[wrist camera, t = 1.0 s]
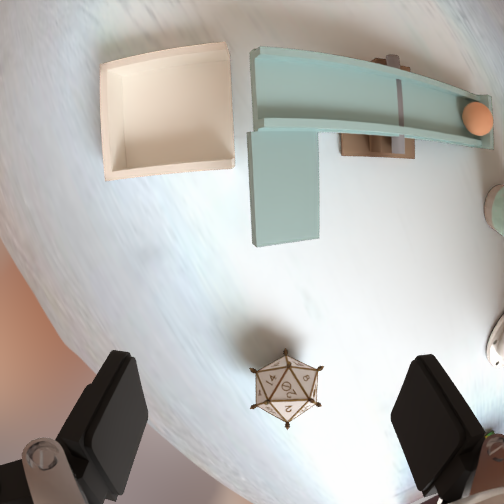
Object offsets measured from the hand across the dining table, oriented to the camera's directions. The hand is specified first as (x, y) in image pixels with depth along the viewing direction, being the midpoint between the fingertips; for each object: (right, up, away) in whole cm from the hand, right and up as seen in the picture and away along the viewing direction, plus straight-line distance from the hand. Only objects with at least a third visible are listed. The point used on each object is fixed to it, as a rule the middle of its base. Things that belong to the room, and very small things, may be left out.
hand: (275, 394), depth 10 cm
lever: (+11, +15, +15) cm, 24 cm away
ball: (+22, +18, +14) cm, 32 cm away
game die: (+3, -10, +28) cm, 30 cm away
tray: (-9, +18, +19) cm, 28 cm away
